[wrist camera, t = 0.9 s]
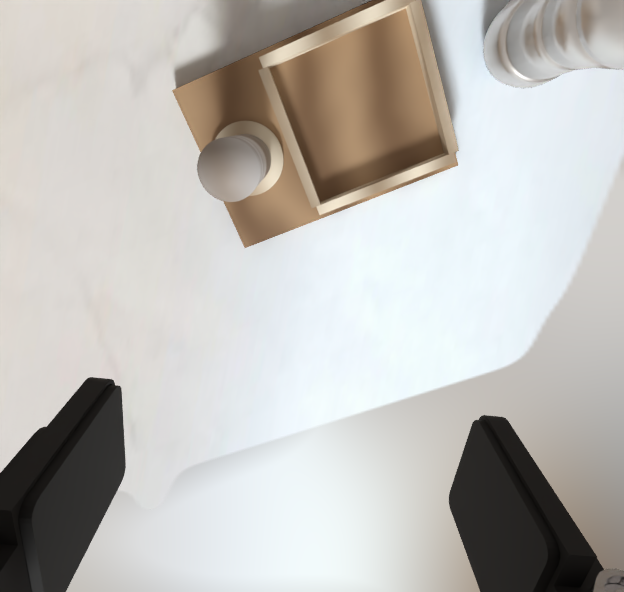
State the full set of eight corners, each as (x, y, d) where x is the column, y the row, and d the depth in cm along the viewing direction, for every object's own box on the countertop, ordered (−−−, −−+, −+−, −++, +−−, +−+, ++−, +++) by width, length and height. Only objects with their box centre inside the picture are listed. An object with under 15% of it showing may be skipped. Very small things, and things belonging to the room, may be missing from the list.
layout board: (408, -14, 33) (451, -72, 23) (453, 163, 38) (505, 178, 28) (176, 91, 36) (124, 79, 26) (246, 244, 41) (226, 284, 31)
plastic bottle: (473, 8, 34) (674, -132, 15) (561, -10, 33) (879, -176, 15) (476, 97, 36) (652, 71, 18) (558, 82, 36) (828, 37, 17)
